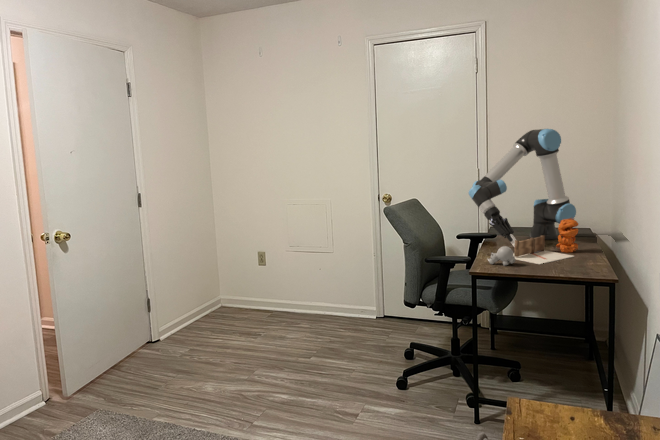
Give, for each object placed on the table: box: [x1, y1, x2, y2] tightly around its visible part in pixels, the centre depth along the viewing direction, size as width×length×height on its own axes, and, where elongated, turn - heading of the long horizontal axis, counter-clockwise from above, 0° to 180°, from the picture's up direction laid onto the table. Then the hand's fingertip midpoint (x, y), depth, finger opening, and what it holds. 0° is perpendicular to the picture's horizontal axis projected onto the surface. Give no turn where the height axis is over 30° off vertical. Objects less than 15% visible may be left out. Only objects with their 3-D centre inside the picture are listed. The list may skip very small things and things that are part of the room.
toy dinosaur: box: [555, 217, 579, 254], centre depth 258 cm, size 11×11×18 cm
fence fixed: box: [529, 235, 546, 254], centre depth 257 cm, size 11×2×8 cm, turn 126°
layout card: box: [513, 250, 575, 265], centre depth 250 cm, size 22×26×1 cm
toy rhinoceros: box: [487, 245, 516, 267], centre depth 235 cm, size 7×12×8 cm, turn 66°
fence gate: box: [513, 238, 532, 257], centre depth 250 cm, size 13×2×8 cm, turn 126°
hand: (517, 245), depth 255 cm, fingers closed
